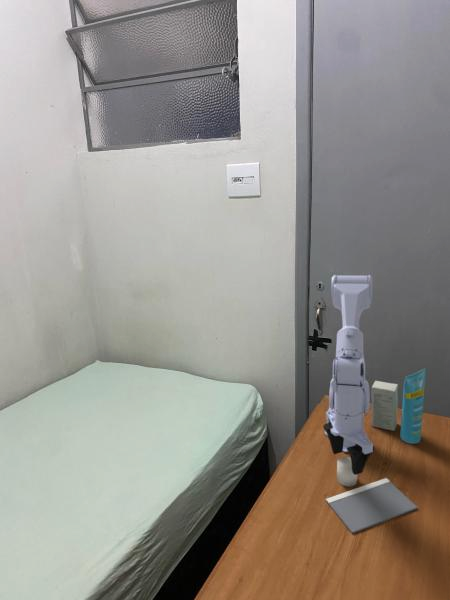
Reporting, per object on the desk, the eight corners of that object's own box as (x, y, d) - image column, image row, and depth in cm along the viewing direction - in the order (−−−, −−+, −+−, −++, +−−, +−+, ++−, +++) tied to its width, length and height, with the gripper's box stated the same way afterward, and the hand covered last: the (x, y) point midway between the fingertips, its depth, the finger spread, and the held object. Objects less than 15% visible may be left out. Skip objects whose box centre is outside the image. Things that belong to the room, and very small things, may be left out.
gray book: (325, 500, 89) (325, 498, 88) (385, 479, 93) (385, 477, 93) (352, 533, 80) (352, 531, 80) (417, 508, 85) (417, 506, 85)
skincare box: (397, 423, 114) (399, 384, 110) (394, 431, 110) (396, 391, 107) (373, 418, 117) (375, 379, 114) (369, 425, 114) (371, 386, 110)
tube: (410, 448, 103) (415, 380, 98) (393, 439, 107) (397, 373, 102) (427, 437, 107) (432, 370, 102) (410, 429, 111) (414, 364, 106)
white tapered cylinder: (333, 476, 96) (333, 460, 94) (349, 471, 97) (349, 455, 96) (344, 488, 92) (344, 472, 90) (360, 483, 93) (361, 466, 92)
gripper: (314, 398, 95) (314, 448, 98) (353, 431, 81) (351, 488, 85) (340, 391, 97) (339, 441, 100) (382, 422, 83) (379, 478, 87)
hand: (347, 462), depth 93 cm, fingers open, 7 cm apart
